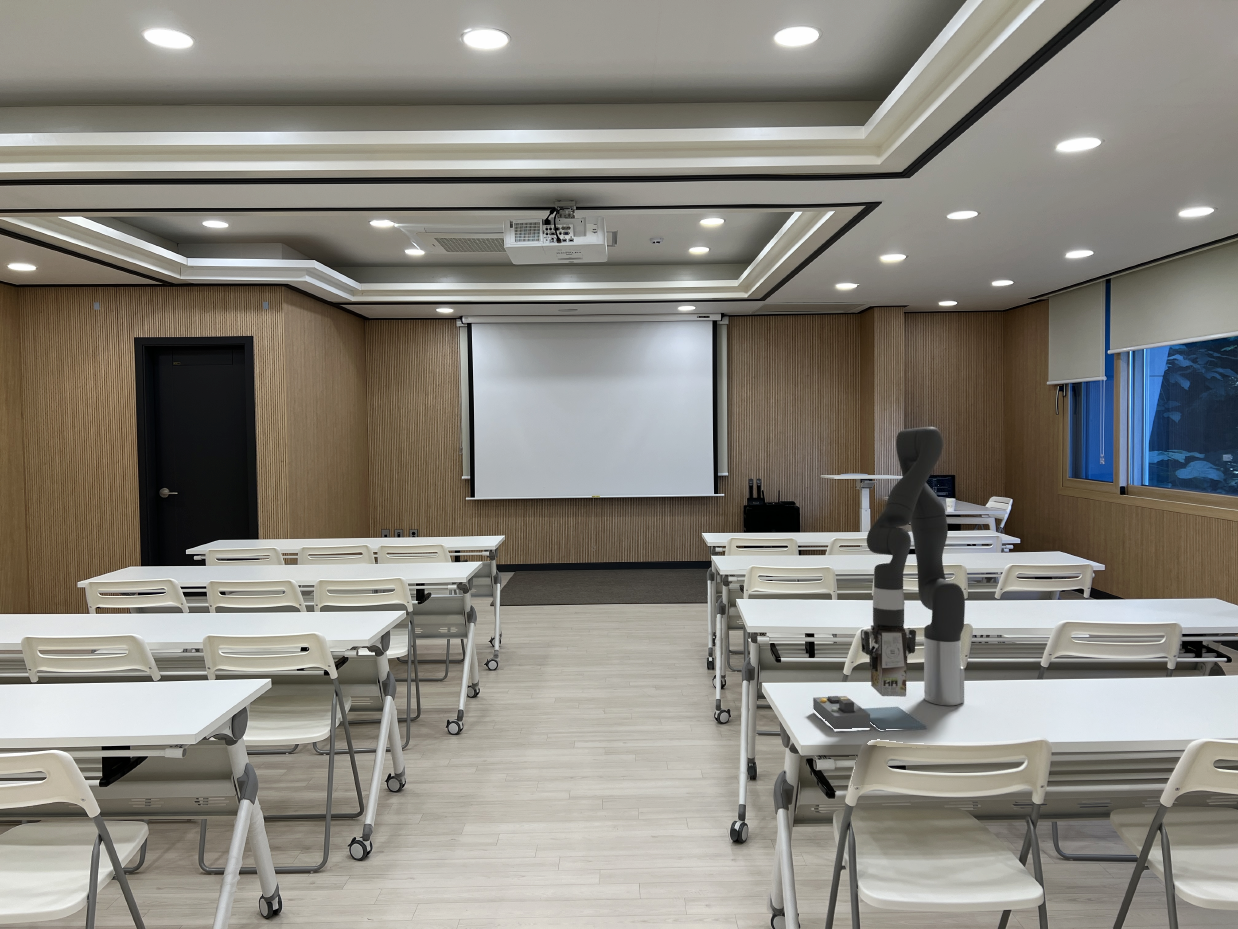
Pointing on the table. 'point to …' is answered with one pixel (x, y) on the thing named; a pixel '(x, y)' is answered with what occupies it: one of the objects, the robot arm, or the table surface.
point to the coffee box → (890, 663)
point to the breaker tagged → (833, 699)
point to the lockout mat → (893, 718)
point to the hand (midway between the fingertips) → (888, 670)
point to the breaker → (846, 705)
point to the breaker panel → (841, 714)
